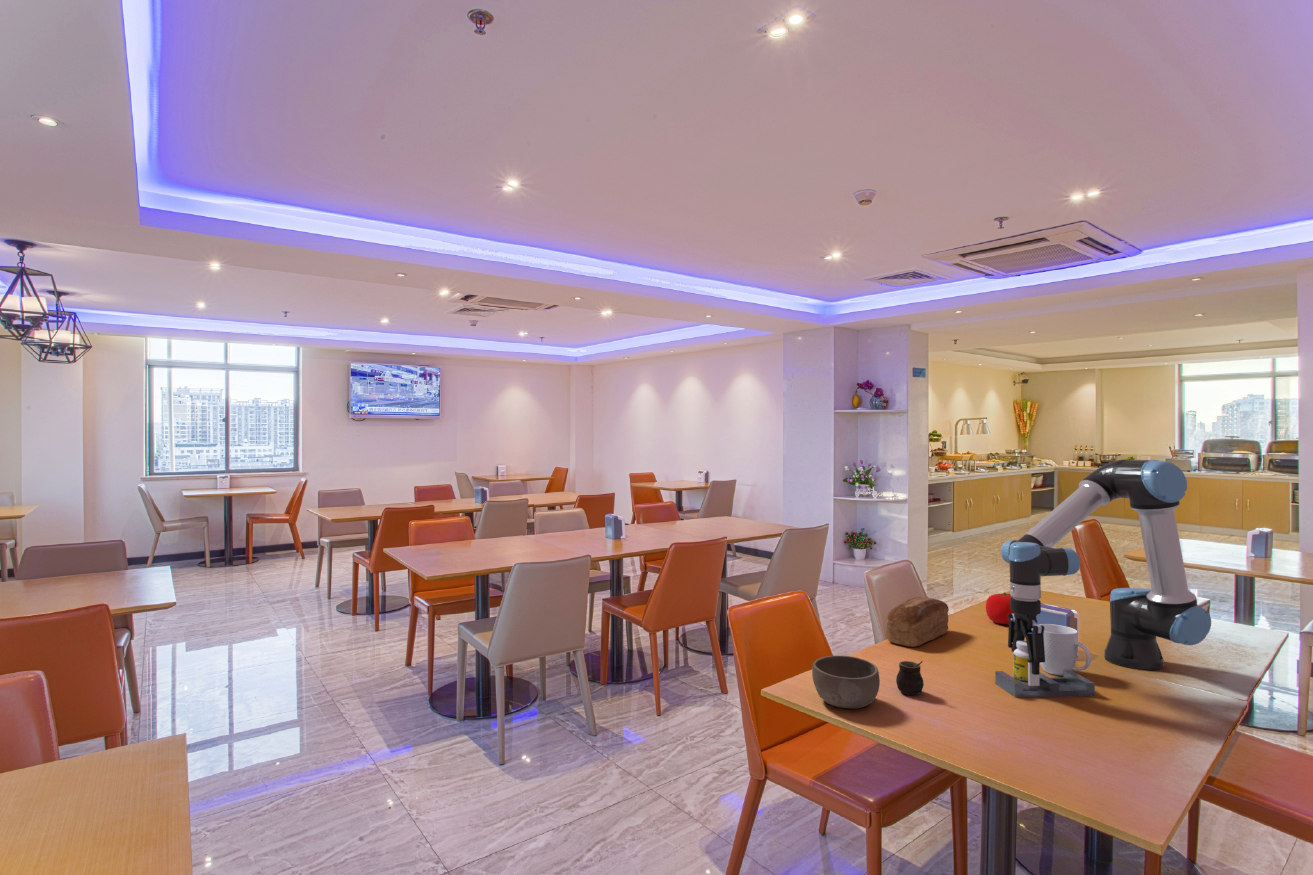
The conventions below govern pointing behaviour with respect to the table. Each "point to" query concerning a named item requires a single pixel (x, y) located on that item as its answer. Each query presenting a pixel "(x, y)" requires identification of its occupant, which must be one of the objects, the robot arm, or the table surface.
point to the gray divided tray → (1047, 685)
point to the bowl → (846, 681)
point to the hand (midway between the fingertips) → (1026, 680)
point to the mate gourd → (909, 678)
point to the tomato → (999, 608)
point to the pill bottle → (1021, 662)
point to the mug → (1062, 649)
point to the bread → (917, 621)
